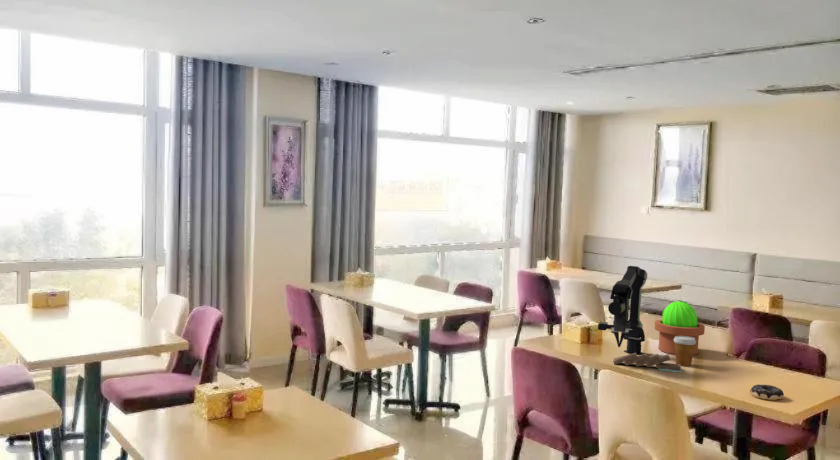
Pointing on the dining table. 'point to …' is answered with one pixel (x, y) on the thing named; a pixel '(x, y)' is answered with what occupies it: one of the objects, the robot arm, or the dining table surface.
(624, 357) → the domino
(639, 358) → the domino
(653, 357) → the domino
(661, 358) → the domino
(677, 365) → the domino
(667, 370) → the mat
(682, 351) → the disposable coffee cup
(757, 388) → the donut
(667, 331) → the potted cactus
